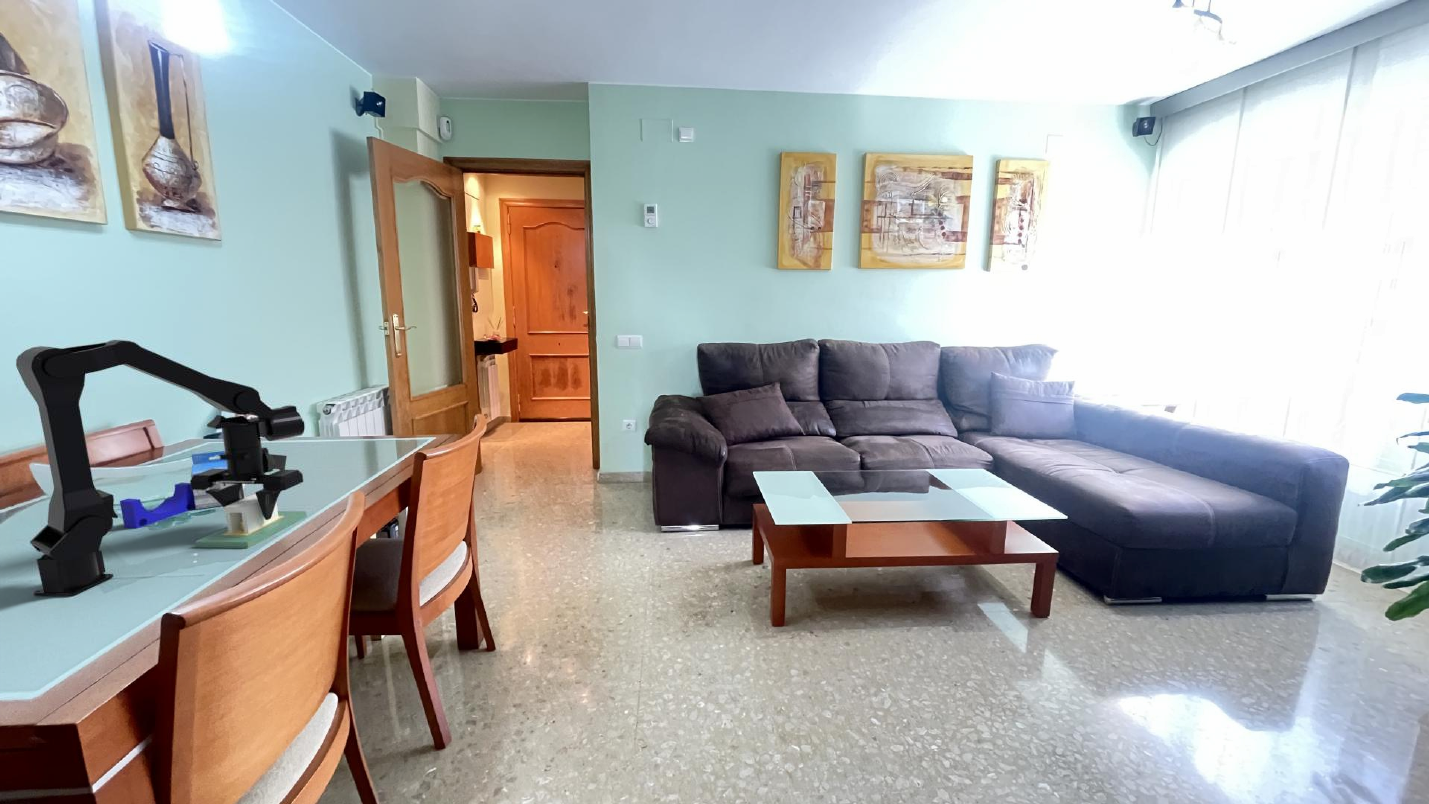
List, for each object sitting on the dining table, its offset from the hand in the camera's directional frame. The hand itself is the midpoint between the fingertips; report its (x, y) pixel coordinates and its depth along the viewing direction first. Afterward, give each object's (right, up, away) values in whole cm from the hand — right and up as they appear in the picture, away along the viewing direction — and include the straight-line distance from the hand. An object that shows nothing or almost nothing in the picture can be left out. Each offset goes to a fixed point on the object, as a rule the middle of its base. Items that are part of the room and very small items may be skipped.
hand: (253, 519), depth 115 cm
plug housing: (0, -1, 0) cm, 1 cm away
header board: (0, -3, +1) cm, 3 cm away
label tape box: (-20, 0, +15) cm, 25 cm away
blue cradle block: (-26, -1, +7) cm, 27 cm away
